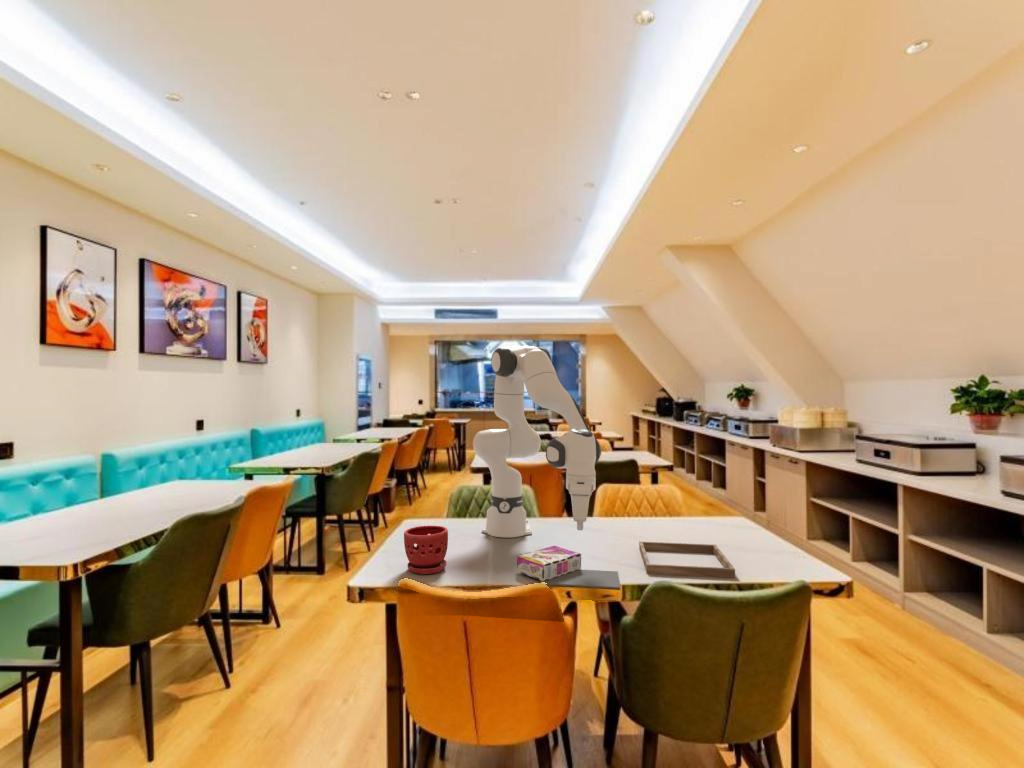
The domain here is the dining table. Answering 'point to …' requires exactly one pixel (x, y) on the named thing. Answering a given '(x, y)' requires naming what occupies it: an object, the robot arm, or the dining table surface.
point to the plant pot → (426, 548)
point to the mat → (587, 579)
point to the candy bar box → (548, 563)
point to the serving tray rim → (686, 570)
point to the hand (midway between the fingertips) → (580, 529)
